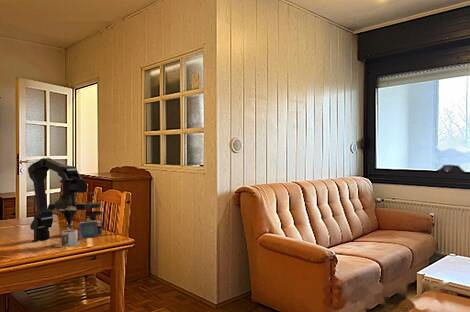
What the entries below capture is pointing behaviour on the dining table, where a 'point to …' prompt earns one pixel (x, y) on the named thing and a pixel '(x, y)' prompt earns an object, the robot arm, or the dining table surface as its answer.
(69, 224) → the plunger
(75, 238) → the grey boxy piece
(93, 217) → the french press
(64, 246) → the coaster
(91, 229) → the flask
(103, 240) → the dining table surface
